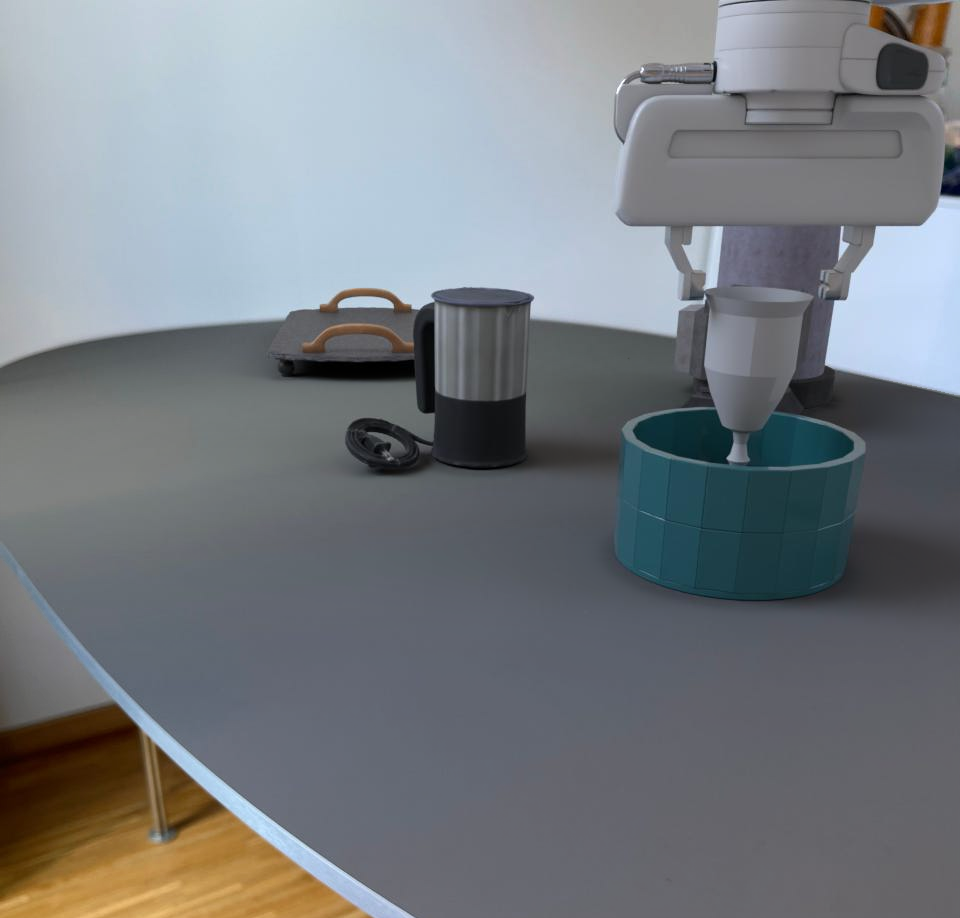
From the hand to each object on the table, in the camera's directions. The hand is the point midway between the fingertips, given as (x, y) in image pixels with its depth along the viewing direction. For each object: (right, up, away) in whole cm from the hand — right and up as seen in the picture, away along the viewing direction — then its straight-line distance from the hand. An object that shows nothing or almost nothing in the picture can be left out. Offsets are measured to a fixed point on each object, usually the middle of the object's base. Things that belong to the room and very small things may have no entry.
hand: (761, 299), depth 71 cm
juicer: (+12, +4, +51) cm, 53 cm away
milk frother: (-23, -6, +30) cm, 38 cm away
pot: (0, -16, +8) cm, 18 cm away
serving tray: (-35, +17, +76) cm, 85 cm away
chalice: (0, -16, +8) cm, 18 cm away
